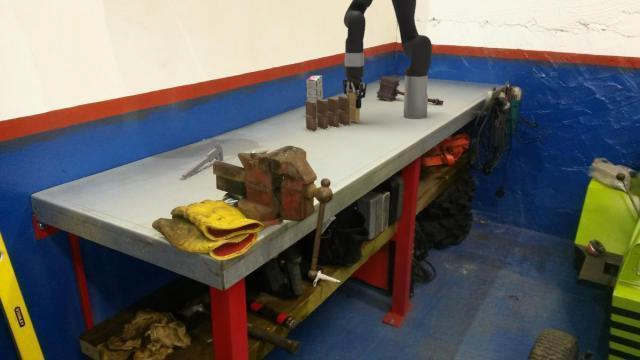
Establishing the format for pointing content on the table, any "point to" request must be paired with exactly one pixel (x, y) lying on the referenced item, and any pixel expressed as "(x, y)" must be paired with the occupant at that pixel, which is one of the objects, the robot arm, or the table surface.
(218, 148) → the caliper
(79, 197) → the table surface
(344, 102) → the domino
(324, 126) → the domino
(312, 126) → the domino
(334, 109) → the domino
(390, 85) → the hammer
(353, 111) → the domino
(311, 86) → the candy bar box
